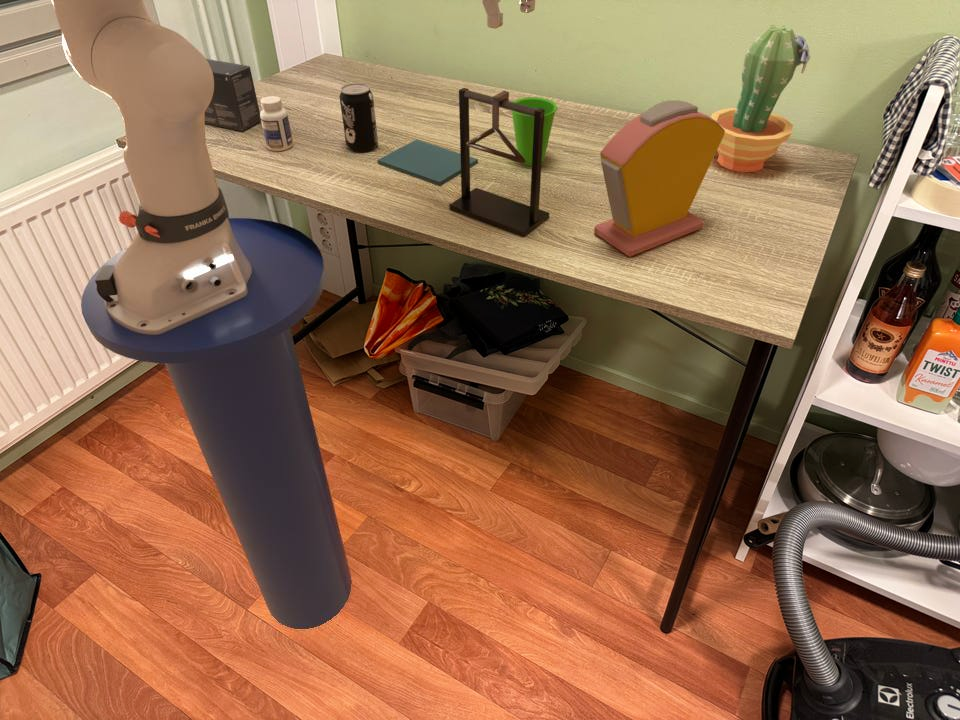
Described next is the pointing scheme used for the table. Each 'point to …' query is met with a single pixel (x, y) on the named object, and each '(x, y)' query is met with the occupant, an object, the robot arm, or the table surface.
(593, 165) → the table surface
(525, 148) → the cup
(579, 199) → the table surface
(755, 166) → the potted cactus
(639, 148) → the yellow fan-shaped flat fixture
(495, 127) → the hanger
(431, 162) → the mat
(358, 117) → the beverage can
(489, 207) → the rack
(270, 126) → the pill bottle
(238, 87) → the small box
